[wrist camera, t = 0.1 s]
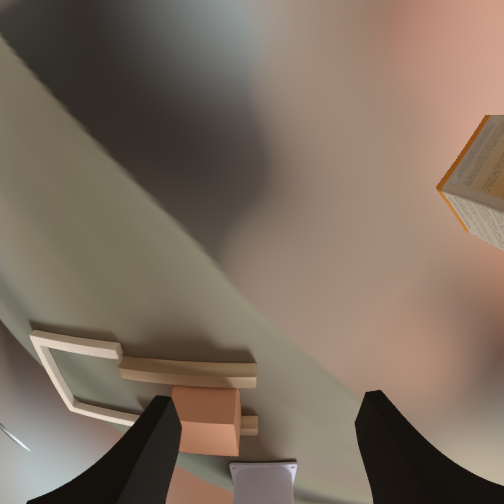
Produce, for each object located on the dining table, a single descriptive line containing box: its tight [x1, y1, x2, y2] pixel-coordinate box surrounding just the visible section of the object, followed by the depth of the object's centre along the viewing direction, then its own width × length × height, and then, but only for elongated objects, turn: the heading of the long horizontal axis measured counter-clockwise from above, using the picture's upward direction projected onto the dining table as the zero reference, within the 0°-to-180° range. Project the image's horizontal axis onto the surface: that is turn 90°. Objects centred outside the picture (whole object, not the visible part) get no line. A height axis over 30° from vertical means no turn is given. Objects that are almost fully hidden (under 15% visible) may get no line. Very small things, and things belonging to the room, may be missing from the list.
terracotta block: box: [171, 385, 241, 456], centre depth 20 cm, size 5×5×5 cm
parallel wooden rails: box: [118, 356, 258, 436], centre depth 22 cm, size 8×11×2 cm
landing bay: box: [29, 330, 140, 426], centre depth 22 cm, size 11×10×1 cm
